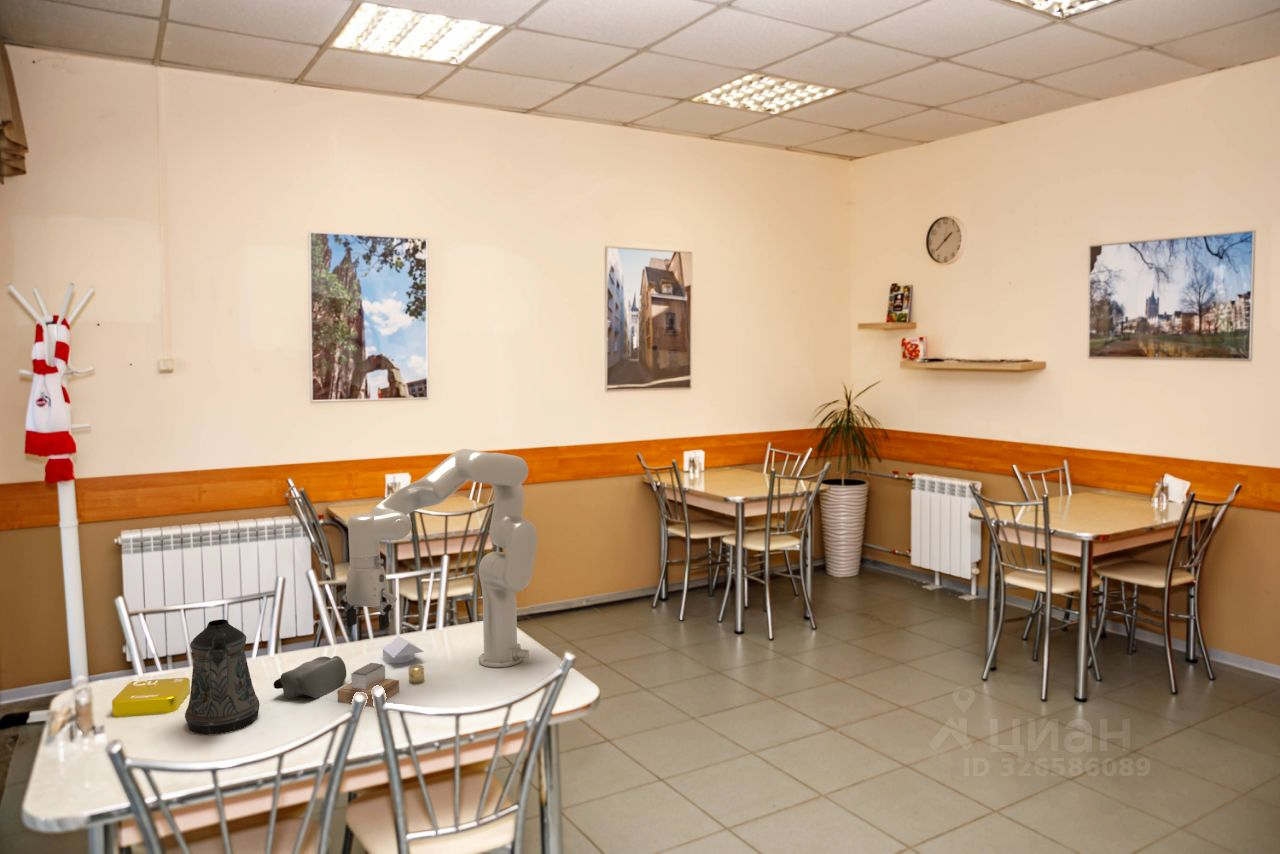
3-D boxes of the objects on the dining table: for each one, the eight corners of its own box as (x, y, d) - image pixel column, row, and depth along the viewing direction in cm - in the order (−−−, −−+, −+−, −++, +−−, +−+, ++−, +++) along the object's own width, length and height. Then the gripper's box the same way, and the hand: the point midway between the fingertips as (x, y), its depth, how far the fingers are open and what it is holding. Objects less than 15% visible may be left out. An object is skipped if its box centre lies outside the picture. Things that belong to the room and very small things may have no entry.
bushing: (427, 680, 252) (426, 665, 251) (419, 685, 248) (418, 670, 248) (414, 678, 253) (413, 664, 253) (406, 683, 249) (405, 669, 249)
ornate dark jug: (239, 703, 237) (234, 607, 235) (279, 722, 224) (274, 621, 222) (173, 723, 224) (167, 623, 222) (211, 745, 212) (206, 638, 210)
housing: (366, 690, 235) (365, 674, 235) (351, 688, 237) (351, 672, 237) (385, 680, 243) (384, 663, 242) (371, 678, 244) (370, 662, 244)
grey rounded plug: (319, 675, 256) (318, 648, 255) (353, 680, 252) (352, 652, 251) (271, 699, 239) (270, 670, 238) (306, 705, 235) (305, 675, 234)
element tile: (110, 719, 228) (108, 700, 228) (131, 696, 243) (130, 679, 242) (175, 714, 231) (174, 695, 231) (192, 692, 246) (191, 674, 245)
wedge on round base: (424, 662, 266) (408, 650, 276) (423, 640, 265) (407, 628, 276) (394, 669, 260) (378, 656, 271) (393, 646, 260) (377, 634, 271)
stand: (399, 691, 244) (398, 679, 243) (374, 706, 233) (373, 694, 233) (363, 686, 247) (363, 674, 247) (337, 701, 237) (337, 689, 237)
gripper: (402, 560, 238) (405, 625, 240) (345, 556, 244) (348, 620, 246) (385, 567, 231) (388, 634, 233) (327, 563, 237) (330, 628, 238)
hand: (368, 626), depth 239 cm, fingers open, 9 cm apart
